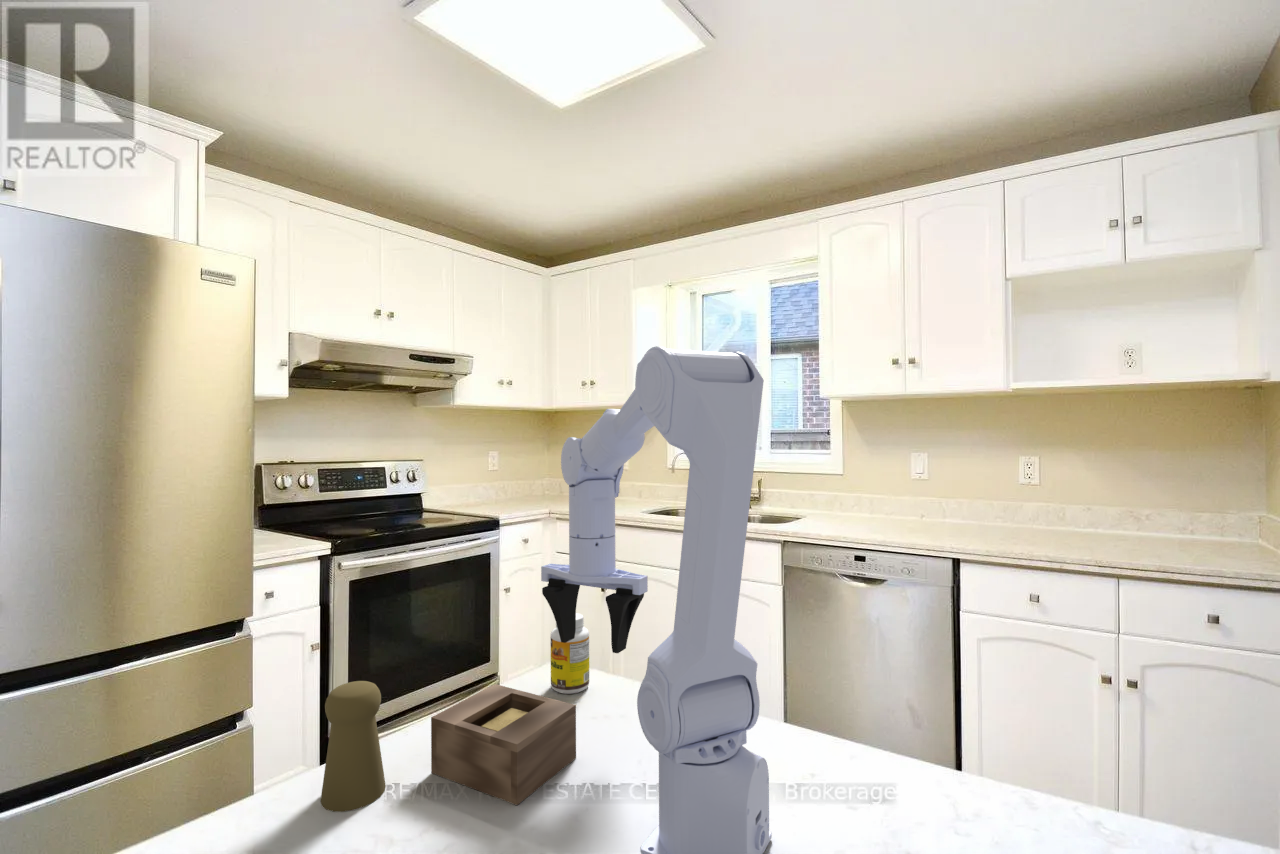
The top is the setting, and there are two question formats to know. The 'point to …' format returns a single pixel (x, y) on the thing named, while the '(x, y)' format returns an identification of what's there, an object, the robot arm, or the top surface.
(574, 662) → the supplement bottle
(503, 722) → the block
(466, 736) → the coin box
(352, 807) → the cork
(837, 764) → the top surface
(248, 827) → the top surface
